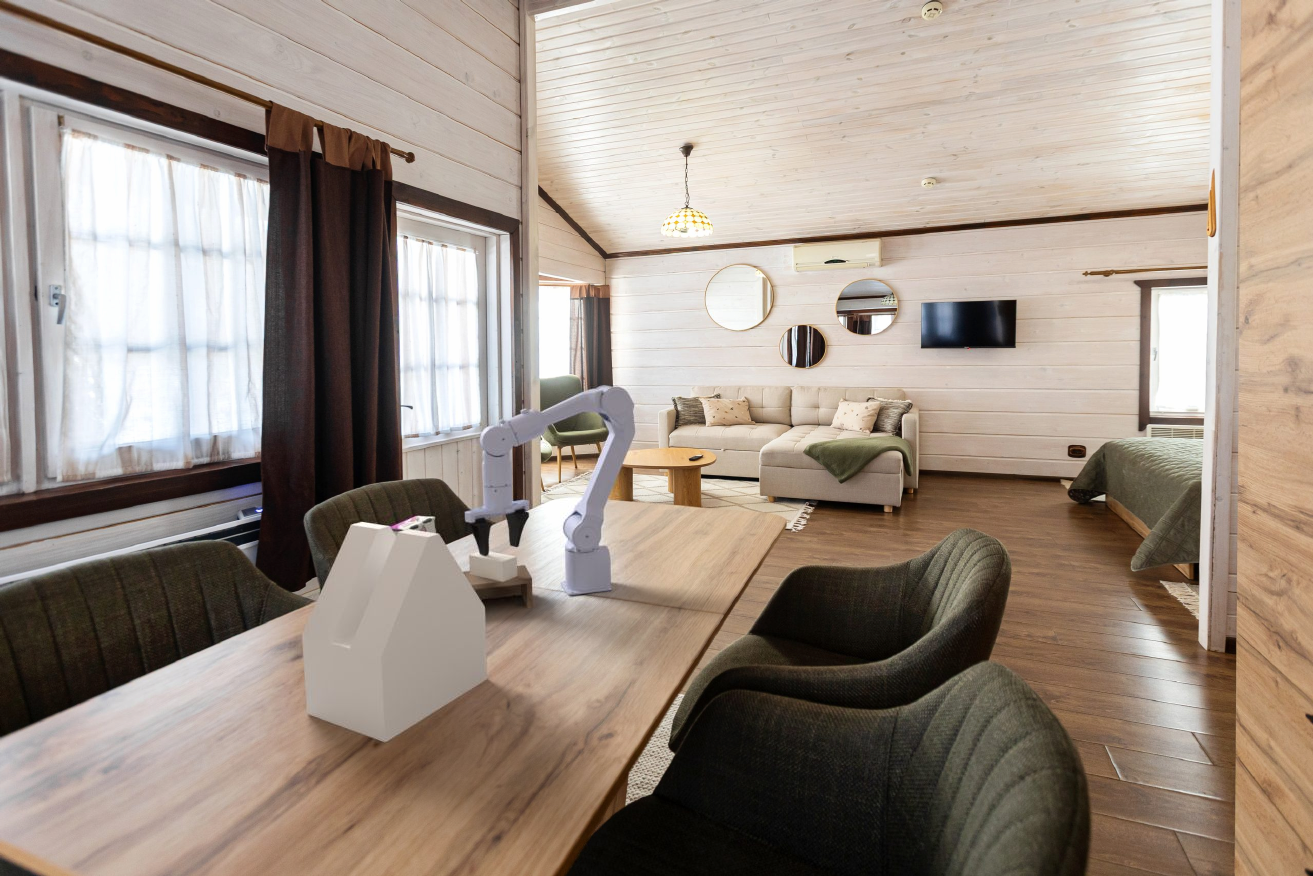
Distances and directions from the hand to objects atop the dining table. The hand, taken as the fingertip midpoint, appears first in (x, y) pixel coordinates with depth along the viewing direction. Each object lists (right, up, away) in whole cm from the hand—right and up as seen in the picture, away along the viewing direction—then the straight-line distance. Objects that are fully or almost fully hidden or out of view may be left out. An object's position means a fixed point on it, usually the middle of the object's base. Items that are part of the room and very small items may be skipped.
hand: (499, 550), depth 136 cm
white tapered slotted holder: (-5, -15, -39) cm, 42 cm away
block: (-1, -5, -3) cm, 5 cm away
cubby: (-1, -11, -2) cm, 11 cm away
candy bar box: (-17, -11, 0) cm, 20 cm away
